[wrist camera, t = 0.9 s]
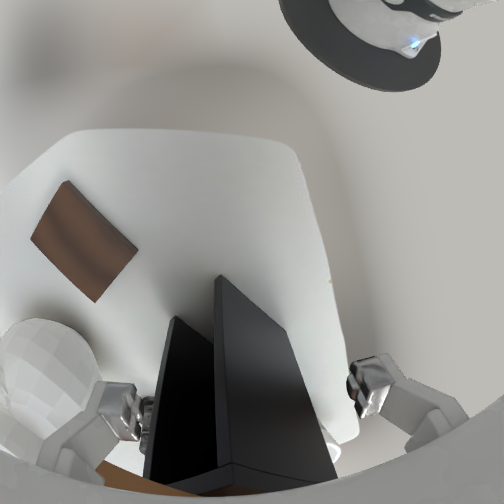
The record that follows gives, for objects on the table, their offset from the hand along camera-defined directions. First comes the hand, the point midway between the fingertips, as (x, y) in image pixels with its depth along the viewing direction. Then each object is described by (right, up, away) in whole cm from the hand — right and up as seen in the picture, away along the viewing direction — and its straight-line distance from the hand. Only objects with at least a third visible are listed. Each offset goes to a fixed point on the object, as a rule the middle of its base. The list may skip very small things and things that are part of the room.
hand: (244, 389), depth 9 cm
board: (-22, +6, +22) cm, 31 cm away
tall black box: (-3, -5, +28) cm, 29 cm away
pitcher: (-30, -10, +27) cm, 42 cm away
